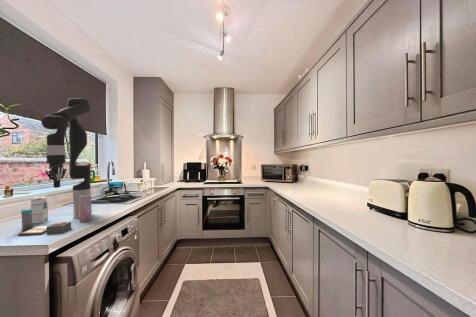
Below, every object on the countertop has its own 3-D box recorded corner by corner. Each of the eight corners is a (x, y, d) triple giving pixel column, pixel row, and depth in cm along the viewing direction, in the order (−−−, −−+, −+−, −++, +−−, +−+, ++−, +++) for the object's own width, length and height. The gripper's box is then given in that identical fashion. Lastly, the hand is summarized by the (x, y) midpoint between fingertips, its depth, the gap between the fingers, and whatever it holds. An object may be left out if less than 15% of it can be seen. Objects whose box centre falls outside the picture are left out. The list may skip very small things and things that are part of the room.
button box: (56, 229, 114) (56, 222, 114) (71, 228, 115) (71, 221, 115) (46, 233, 107) (46, 226, 107) (62, 232, 108) (62, 225, 108)
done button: (57, 225, 113) (57, 222, 113) (66, 225, 113) (66, 222, 113) (52, 228, 109) (52, 224, 109) (60, 227, 109) (60, 224, 109)
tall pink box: (89, 218, 133) (89, 194, 133) (93, 220, 130) (92, 195, 130) (77, 221, 129) (77, 195, 129) (81, 222, 125) (80, 196, 125)
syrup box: (43, 222, 128) (43, 197, 128) (31, 223, 126) (30, 198, 126) (48, 219, 133) (47, 196, 133) (35, 221, 131) (35, 197, 131)
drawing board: (37, 228, 117) (37, 226, 117) (58, 226, 118) (58, 224, 118) (18, 236, 105) (18, 233, 105) (41, 234, 106) (41, 232, 106)
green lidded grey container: (26, 228, 116) (25, 209, 116) (35, 228, 117) (34, 208, 117) (19, 231, 112) (18, 211, 112) (28, 230, 113) (28, 210, 113)
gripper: (56, 154, 120) (57, 185, 120) (38, 154, 107) (39, 189, 107) (71, 154, 121) (72, 185, 121) (55, 154, 108) (56, 189, 108)
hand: (57, 187), depth 114 cm, fingers closed
